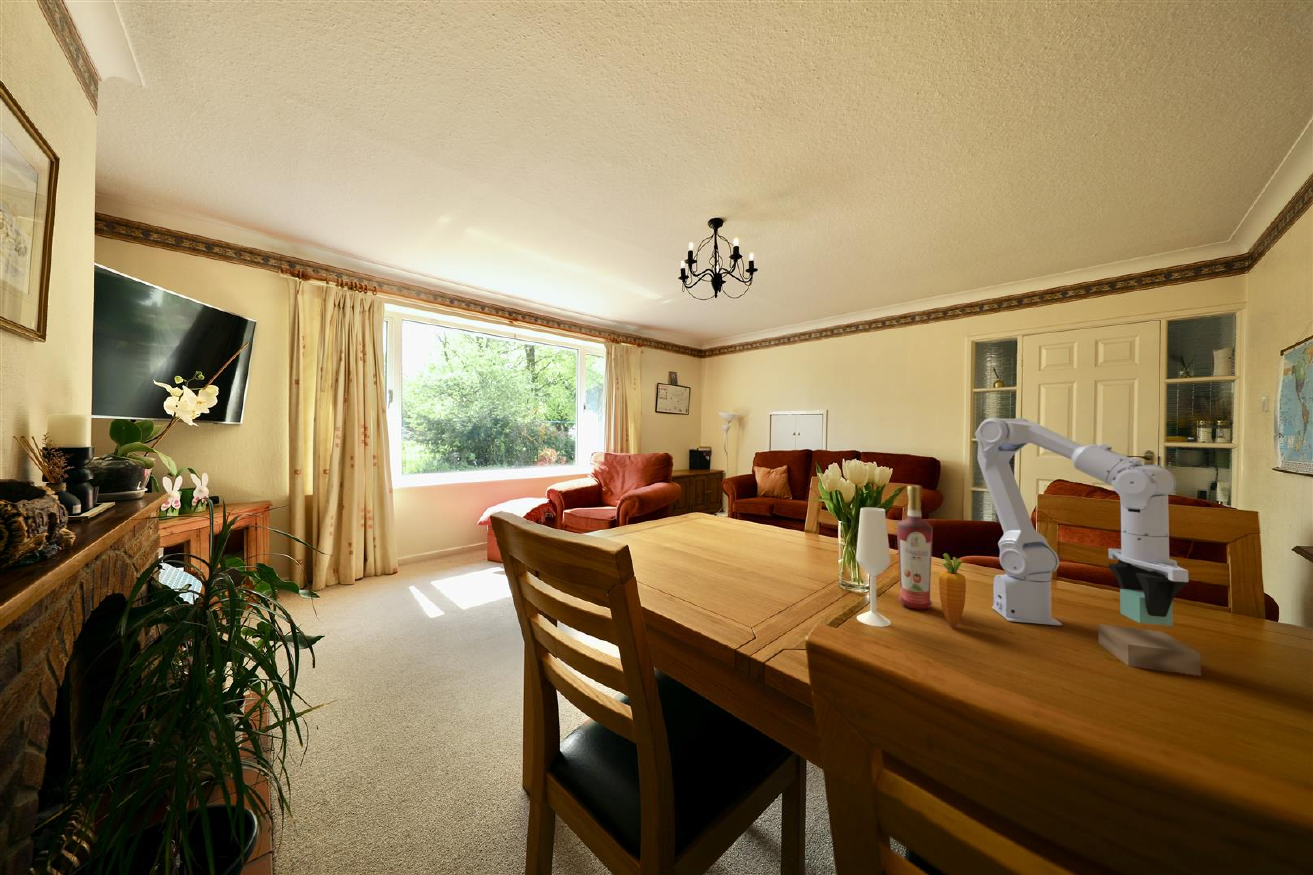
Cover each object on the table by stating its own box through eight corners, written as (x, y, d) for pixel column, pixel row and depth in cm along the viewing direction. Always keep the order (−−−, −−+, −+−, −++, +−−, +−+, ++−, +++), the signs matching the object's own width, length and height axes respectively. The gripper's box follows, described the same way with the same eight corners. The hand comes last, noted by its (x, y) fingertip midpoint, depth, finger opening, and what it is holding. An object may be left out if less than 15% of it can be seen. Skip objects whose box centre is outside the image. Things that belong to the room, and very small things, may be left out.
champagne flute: (873, 612, 100) (872, 506, 100) (898, 624, 93) (897, 510, 93) (849, 616, 98) (848, 507, 98) (873, 628, 91) (872, 512, 91)
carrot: (972, 633, 88) (971, 558, 89) (944, 631, 89) (943, 557, 90) (960, 623, 93) (959, 552, 93) (934, 621, 94) (933, 551, 94)
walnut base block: (1128, 667, 76) (1127, 644, 76) (1098, 644, 84) (1098, 623, 84) (1200, 677, 72) (1200, 653, 72) (1162, 653, 81) (1162, 631, 81)
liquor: (899, 609, 101) (898, 487, 101) (895, 598, 108) (894, 484, 108) (936, 614, 98) (935, 488, 98) (930, 602, 105) (929, 485, 105)
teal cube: (1139, 623, 77) (1139, 597, 77) (1120, 613, 81) (1120, 588, 81) (1172, 625, 75) (1172, 599, 75) (1151, 615, 80) (1150, 590, 80)
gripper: (1212, 544, 70) (1213, 629, 70) (1140, 526, 84) (1141, 597, 84) (1156, 541, 72) (1157, 624, 72) (1094, 525, 86) (1095, 594, 86)
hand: (1145, 610), depth 78 cm, fingers closed on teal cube, 4 cm apart
